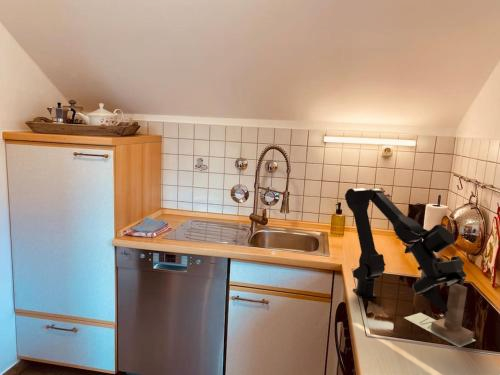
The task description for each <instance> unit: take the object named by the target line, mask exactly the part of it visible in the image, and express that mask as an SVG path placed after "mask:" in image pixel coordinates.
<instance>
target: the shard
mask: <svg viewBox="0 0 500 375" xmlns="http://www.w3.org/2000/svg"><path fill="white" fill-rule="evenodd" d="M383 310H384V307H382V306H380V305H378V304H377V303H374V302H372V301H370V300H368V305H367V309H366V312H367V314H370V313H372V314H373V315H375V316H379V317H380V316H381V317H384V318H388V317H389V316H388V314H387V313H385V312H384V311H383Z"/></svg>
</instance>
